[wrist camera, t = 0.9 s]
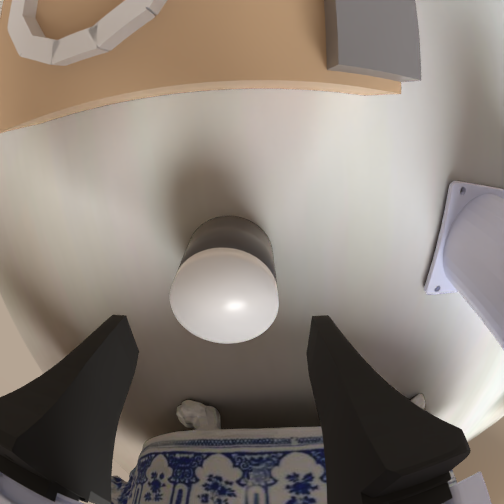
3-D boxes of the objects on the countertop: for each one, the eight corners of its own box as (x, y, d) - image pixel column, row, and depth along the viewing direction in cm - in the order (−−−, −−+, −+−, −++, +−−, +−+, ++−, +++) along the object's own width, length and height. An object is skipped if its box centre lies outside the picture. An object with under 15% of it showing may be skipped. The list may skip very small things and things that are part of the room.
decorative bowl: (486, 362, 23) (536, 458, 10) (396, 460, 36) (412, 528, 22) (86, 360, 22) (29, 502, 8) (142, 463, 34) (128, 541, 21)
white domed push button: (273, 215, 15) (281, 256, 11) (271, 290, 18) (276, 343, 14) (183, 217, 15) (161, 257, 11) (193, 290, 18) (179, 342, 14)
